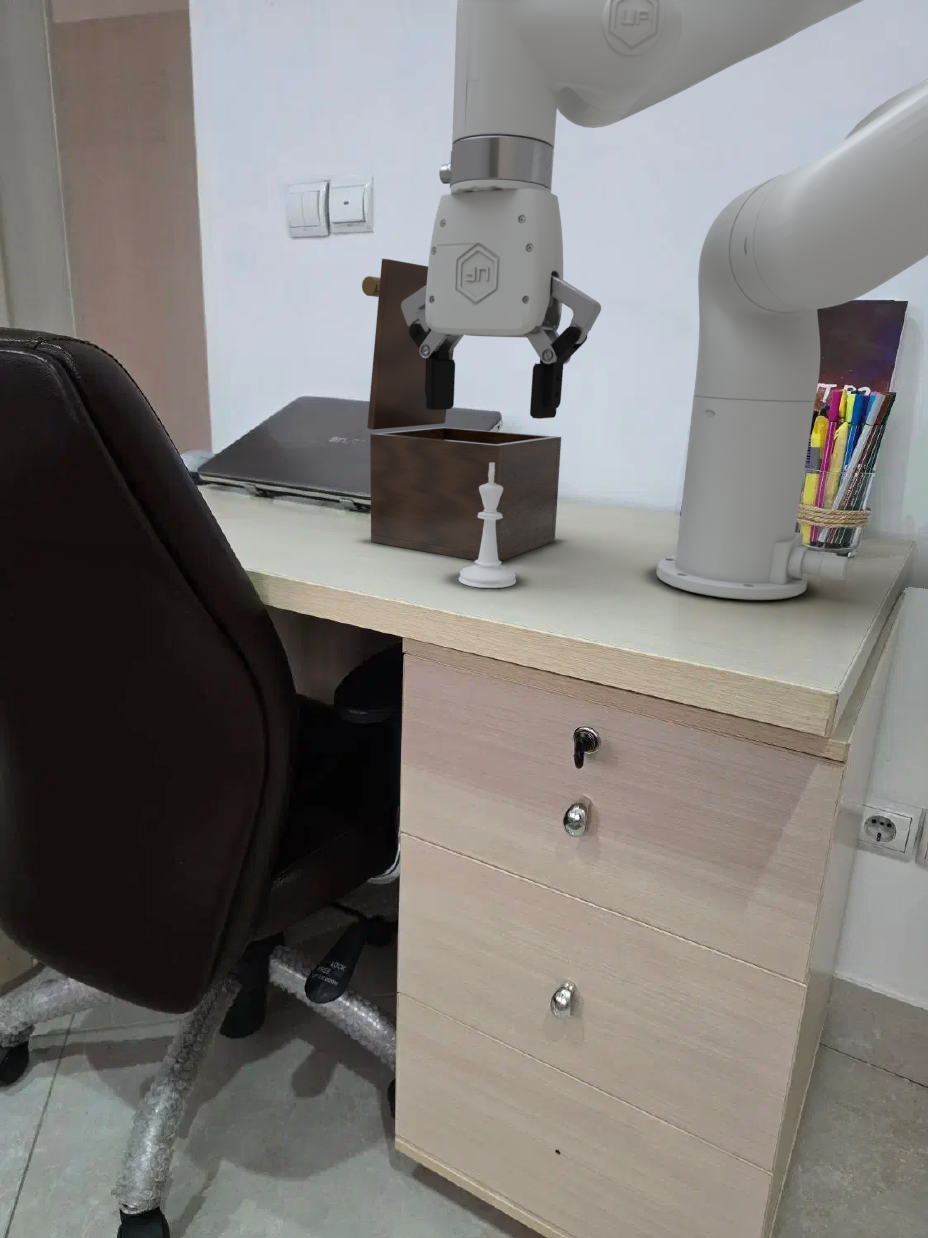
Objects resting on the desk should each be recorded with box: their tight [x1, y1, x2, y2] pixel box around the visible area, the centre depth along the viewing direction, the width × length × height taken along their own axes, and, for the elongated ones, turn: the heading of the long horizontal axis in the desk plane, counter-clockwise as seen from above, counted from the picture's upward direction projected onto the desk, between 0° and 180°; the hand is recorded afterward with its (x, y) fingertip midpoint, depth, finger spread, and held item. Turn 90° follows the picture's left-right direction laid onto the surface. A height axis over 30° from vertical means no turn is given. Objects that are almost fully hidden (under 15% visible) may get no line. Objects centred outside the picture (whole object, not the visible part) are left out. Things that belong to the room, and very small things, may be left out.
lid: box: [361, 258, 455, 431], centre depth 84 cm, size 15×13×6 cm
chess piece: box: [458, 463, 517, 589], centre depth 69 cm, size 5×5×10 cm
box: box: [369, 426, 562, 562], centre depth 84 cm, size 15×13×11 cm
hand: (489, 413), depth 67 cm, fingers open, 9 cm apart
